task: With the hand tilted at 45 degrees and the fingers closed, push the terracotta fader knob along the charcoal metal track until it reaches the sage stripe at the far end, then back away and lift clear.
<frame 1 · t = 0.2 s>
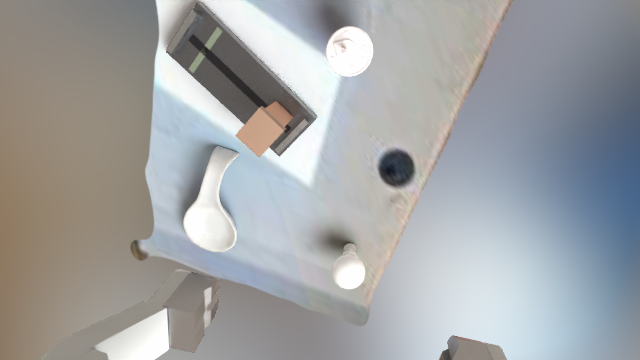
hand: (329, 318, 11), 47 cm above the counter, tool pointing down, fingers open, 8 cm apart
lightbulb: (350, 246, 66), on the counter
fader track: (245, 84, 55), on the counter
smoothie: (352, 50, 51), on the counter
fader knob: (268, 125, 51), point 7 cm above the counter, slide at 0.0 cm
spoon rest: (221, 197, 66), on the counter
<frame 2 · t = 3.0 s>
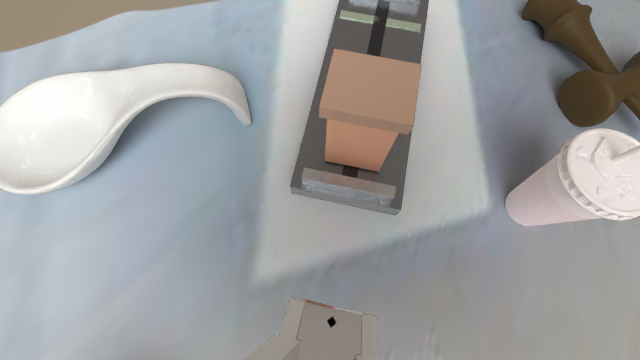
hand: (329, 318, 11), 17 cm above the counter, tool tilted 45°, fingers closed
kendama: (575, 78, 35), on the counter
fader track: (365, 91, 34), on the counter
smoothie: (523, 207, 30), on the counter
fader knob: (362, 121, 25), point 7 cm above the counter, slide at 0.0 cm
spoon rest: (137, 134, 32), on the counter
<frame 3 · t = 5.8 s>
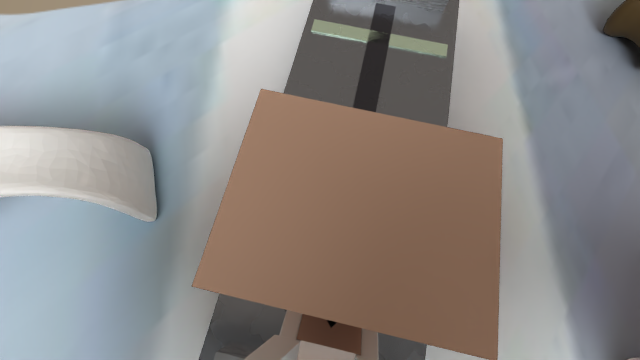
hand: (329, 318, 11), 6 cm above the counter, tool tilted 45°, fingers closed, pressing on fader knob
fader track: (352, 158, 20), on the counter
fader knob: (342, 240, 11), point 7 cm above the counter, slide at 1.5 cm, touching gripper
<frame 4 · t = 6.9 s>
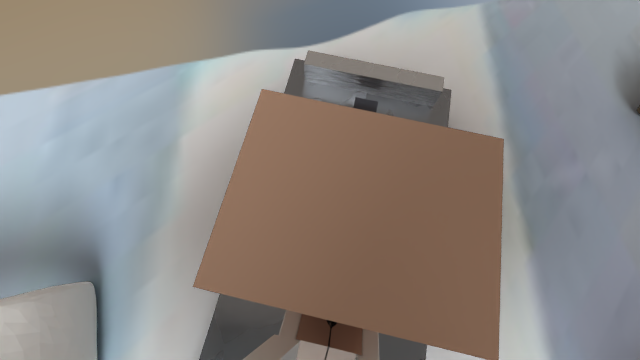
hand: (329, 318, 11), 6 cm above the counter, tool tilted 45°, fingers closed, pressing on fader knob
fader track: (326, 287, 17), on the counter
fader knob: (343, 240, 11), point 7 cm above the counter, slide at 9.5 cm, touching gripper
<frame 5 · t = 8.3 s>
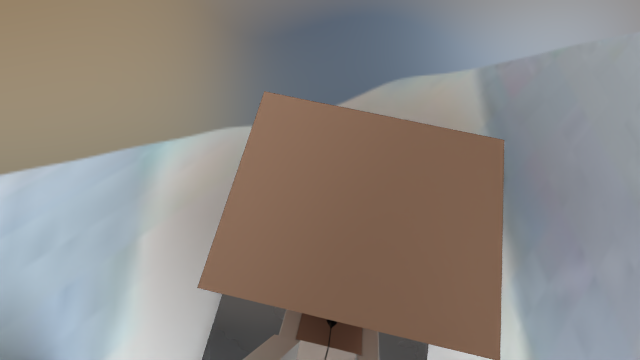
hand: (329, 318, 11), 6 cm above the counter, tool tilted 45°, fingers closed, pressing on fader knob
fader knob: (345, 240, 11), point 7 cm above the counter, slide at 16.0 cm, touching gripper
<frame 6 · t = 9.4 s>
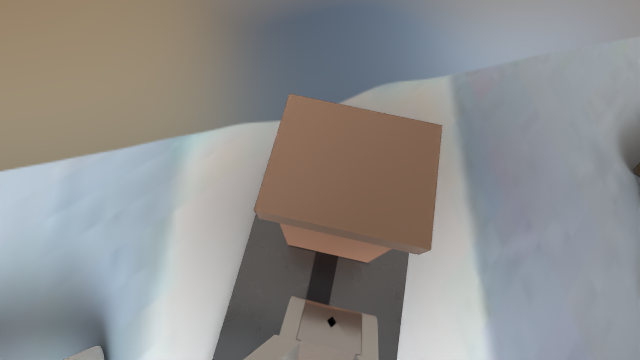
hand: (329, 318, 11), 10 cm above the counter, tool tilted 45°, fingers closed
fader track: (305, 355, 19), on the counter
fader knob: (341, 201, 15), point 7 cm above the counter, slide at 16.0 cm
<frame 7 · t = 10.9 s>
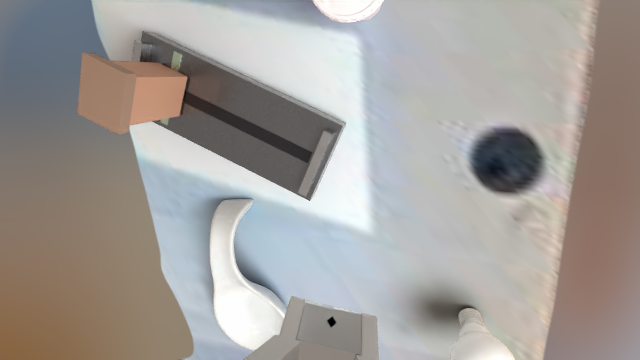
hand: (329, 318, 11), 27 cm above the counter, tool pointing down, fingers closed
lightbulb: (468, 312, 40), on the counter
fader track: (236, 115, 39), on the counter
smoothie: (364, 0, 32), on the counter
fader knob: (139, 92, 33), point 7 cm above the counter, slide at 16.0 cm
spoon rest: (255, 270, 47), on the counter
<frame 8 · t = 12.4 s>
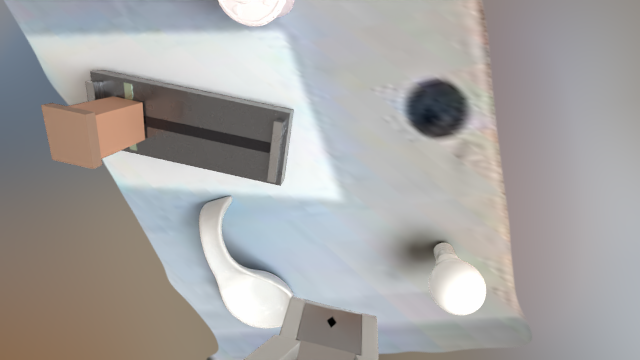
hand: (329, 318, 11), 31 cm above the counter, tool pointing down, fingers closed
lightbulb: (442, 246, 45), on the counter
fader track: (196, 126, 43), on the counter
fader knob: (102, 127, 37), point 7 cm above the counter, slide at 16.0 cm
spoon rest: (251, 258, 51), on the counter
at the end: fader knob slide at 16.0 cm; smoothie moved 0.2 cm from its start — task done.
